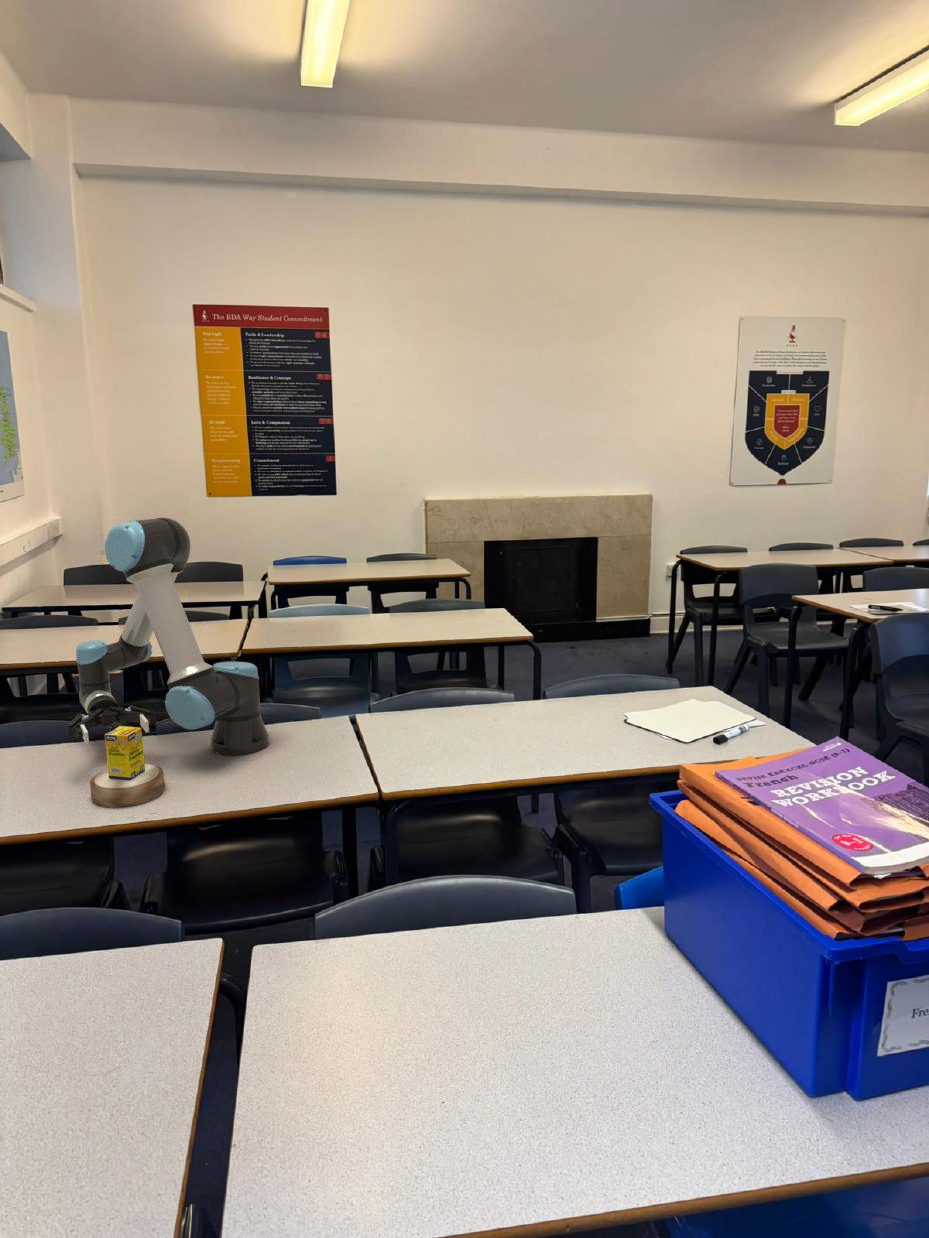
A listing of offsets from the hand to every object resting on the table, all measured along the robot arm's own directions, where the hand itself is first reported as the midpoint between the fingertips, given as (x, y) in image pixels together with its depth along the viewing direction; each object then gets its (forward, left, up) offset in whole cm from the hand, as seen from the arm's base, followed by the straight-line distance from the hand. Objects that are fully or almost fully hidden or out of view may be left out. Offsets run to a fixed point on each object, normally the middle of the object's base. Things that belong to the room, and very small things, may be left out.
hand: (117, 732), depth 195 cm
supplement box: (-3, +7, -8) cm, 11 cm away
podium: (-3, +8, -13) cm, 15 cm away
